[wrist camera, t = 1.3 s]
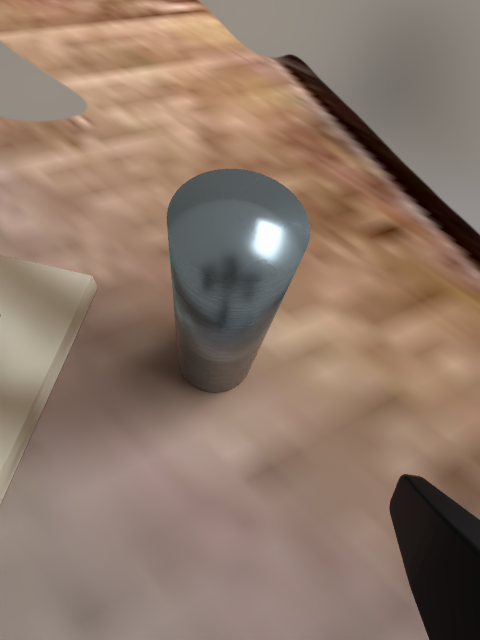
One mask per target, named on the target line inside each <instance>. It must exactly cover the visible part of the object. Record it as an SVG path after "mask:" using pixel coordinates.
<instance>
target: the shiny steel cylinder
mask: <svg viewBox="0 0 480 640" xmlns="http://www.w3.org/2000/svg"><path fill="white" fill-rule="evenodd" d="M167 227H168V240H169V252H170V264H171V276H172V288H173V301H174V313H175V325H176V337H177V349H178V361H179V367H180V369H181V372H182V374H183V376H184V377H185V378H186V380H187V381H188V382H189V383H190V384H192V385H193V386H195V387H196V388H198V389H200V390H203V391H206V392H214V393H217V392H224V391H228V390H230V389H232V388H234V387H236V386H237V385H239V384H240V383H241V382H242V381H243V380H244V378H245V377H246V375H247V374H248V372H249V369H250V367H251V365H252V363H253V361H254V359H255V357H256V355H257V352H258V350H259V348H260V346H261V344H262V342H263V340H264V338H265V335H266V333H267V331H268V329H269V327H270V325H271V323H272V321H273V318H274V316H275V314H276V312H277V310H278V308H279V306H280V304H281V301H282V299H283V297H284V295H285V293H286V291H287V289H288V286H289V284H290V282H291V280H292V278H293V276H294V274H295V272H296V269H297V267H298V265H299V263H300V261H301V259H302V257H303V255H304V252H305V250H306V248H307V245H308V242H309V238H310V225H309V220H308V216H307V214H306V211H305V209H304V207H303V206H302V204H301V202H300V201H299V200H298V199H297V197H296V196H295V195H294V194H293V193H292V192H291V191H290V190H289V189H287V188H286V187H285V186H284V185H282V184H280V183H279V182H277V181H276V180H274V179H272V178H270V177H267V176H265V175H262V174H260V173H256V172H253V171H248V170H241V169H220V170H214V171H209V172H206V173H203V174H200V175H198V176H196V177H194V178H192V179H190V180H189V181H187V182H186V183H185V184H183V185H182V186H181V187H180V188H179V189H178V190H177V192H176V193H175V194H174V196H173V197H172V200H171V202H170V204H169V207H168V212H167Z"/></svg>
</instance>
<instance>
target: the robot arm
mask: <svg viewBox="0 0 480 640" xmlns="http://www.w3.org/2000/svg"><path fill="white" fill-rule="evenodd" d="M390 515H391V518H392V522H393V526H394V529H395V533H396V537H397V541H398V544H399V548H400V552H401V555H402V559H403V563H404V567H405V570H406V574H407V577H408V581H409V584H410V587H411V590H412V593H413V596H414V599H415V602H416V604H417V607H418V610H419V613H420V615H421V618H422V621H423V623H424V626H425V629H426V632H427V634H428V637H429V640H480V520H479V519H478V518H476V517H475V516H474V515H472V514H471V513H470V512H468V511H467V510H466V509H464V508H463V507H462V506H460V505H459V504H458V503H456V502H455V501H454V500H452V499H451V498H449V497H448V496H447V495H445V494H444V493H443V492H441V491H440V490H439V489H437V488H436V487H435V486H433V485H432V484H431V483H429V482H428V481H427V480H425V479H424V478H422V477H420V476H415V475H408V474H404V475H402V476H401V477H400V478H399V480H398V483H397V485H396V488H395V491H394V493H393V496H392V498H391V501H390Z"/></svg>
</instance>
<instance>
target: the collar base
mask: <svg viewBox="0 0 480 640" xmlns="http://www.w3.org/2000/svg"><path fill="white" fill-rule="evenodd" d="M96 291H97V286H96V283H95V281H94V279H93V277H92V276H90V275H85V274H81V273H77V272H72V271H68V270H64V269H59V268H55V267H51V266H46V265H42V264H38V263H33V262H29V261H25V260H20V259H16V258H12V257H7V256H3V255H0V504H1V502H2V500H3V497H4V495H5V493H6V491H7V489H8V486H9V484H10V482H11V480H12V477H13V475H14V473H15V471H16V469H17V466H18V464H19V462H20V460H21V457H22V455H23V453H24V451H25V449H26V446H27V444H28V442H29V440H30V437H31V435H32V433H33V431H34V428H35V426H36V424H37V422H38V420H39V417H40V415H41V413H42V411H43V408H44V406H45V404H46V402H47V400H48V397H49V395H50V393H51V391H52V388H53V386H54V384H55V382H56V380H57V377H58V375H59V373H60V371H61V368H62V366H63V364H64V362H65V360H66V357H67V355H68V353H69V351H70V348H71V346H72V344H73V342H74V339H75V337H76V335H77V333H78V331H79V328H80V326H81V324H82V322H83V319H84V317H85V315H86V313H87V311H88V308H89V306H90V304H91V302H92V299H93V297H94V295H95V293H96Z"/></svg>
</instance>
